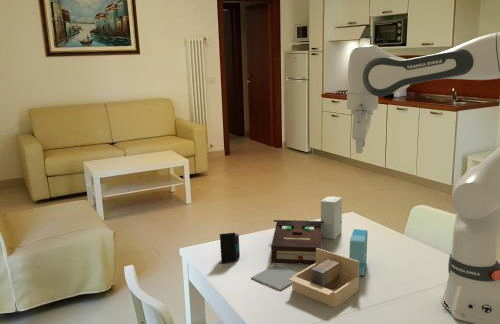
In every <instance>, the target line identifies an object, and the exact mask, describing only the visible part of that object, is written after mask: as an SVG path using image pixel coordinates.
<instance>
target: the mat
mask: <svg viewBox="0 0 500 324" xmlns="http://www.w3.org/2000/svg"><path fill="white" fill-rule="evenodd" d="M297 273H298V272H296V271H294V270H291V269H289V268H286V267H283V266H281V265H278V264H274V265H272V266H270V267H268V268H265V269H264V270H262V271H261V272H258V273H257V274H255V275H252V276H251V278H250V279H251V280H253V281H256V282H258V283H260V284H263V285H265V286H267V287H270V288H272V289H275V290H277V291H280V292H281V291H283V290H285V289H286V288H288V287H290V286H291V285H292V281H290V280H289V279H290V278H291V277H292V276H294V275H296V274H297Z"/></svg>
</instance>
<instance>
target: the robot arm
mask: <svg viewBox="0 0 500 324" xmlns="http://www.w3.org/2000/svg"><path fill="white" fill-rule="evenodd" d="M447 79H448V80H449V79H452V80H470V81H471V80H472V81H473V80H474V81H487V80H498V79H500V31H498V32H492V33H489V34H485V35H482V36H479V37H475V38H473V39H470V40H468V41H466V42H462V43H461V44H459V45H457V46H454V47H452V48H450V49H446V50H443V51H440V52H438V53H433V54H432V53H431V54H428V55H423V56H419V57H413V58H408V59H407V58H405V57H404V58H403V57H401V56H397V55H394V54H392V53H389V52H387V51H385V50H383V49H382V48H381V47H379V45H376V44H369V45H362V46H358V47H356V48H353V50H351V52H350V55H349V59H348V68H347V80H348V81H347V82H348V88H347V91H346V92H347V93H346V94H347V95H346V109H347V110H350V115H351V116H353V117H352V128H351V130H352V132H351V138H352V140H353V141H355V152H356V154H362V153H363V152H364V151H363V149H364V147H365V144H366V138H367V135H368V132H369V130H370V126H371V119H372V116H373V115H374V111H375V110H379V97H382V98H383V97H387V96H390V95H392V94H394V93H400V92H402V91H404V90H406V89H408V88H409V87H410V86H411V85H415V84H420V83H424V82H431V81H437V80H447ZM451 201H452V205H453V208H454V209H455V210H456V216H455V220H454V225H453V230H452V231H453V232H452V244H451V253H450V254H449V258H448V266H447V267H448V278H447V283H446V286H445V288H444V289H445V290H444V292H443V294H442V296H441V298H440V299H441V303H442V305H443V306H444V307H445V309H447V310H448V311H449V312H450V313H451V315H452V317H453V318H454V319H456V320H459V321H461V322H463V321H464V322H466V323H471V324H500V262H499V261H498V260H497V257H498V247H499V239H500V146H499V147H498V148H496V149H495V150H494V151H493V152H492V153H490V155H488V156H487V157H486V158H484V159H483V160H482V161H481V162H479V163H478V164H477V165H474V166H472V167H470V168H468V170H466V171H465V172H464V174H463V175H462V176H461V177H460V178H459V179H458V180H457V182H455V184H454V185H453V187H452V192H451ZM444 301H445V303H446V304H447V305H448V307H449V308H448V307H446V305H445V304H444Z"/></svg>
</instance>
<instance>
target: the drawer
mask: <svg viewBox="0 0 500 324" xmlns="http://www.w3.org/2000/svg"><path fill="white" fill-rule="evenodd" d="M328 259H330V260H333V261H336V262H339V263H340V269H339V286H340V287H338V288H337V289H335V290H334V291H332V290H329V289H327V288H324V287H322V286H319V285H316V284H314V283H311V269H312V268H314V267H315V266H317V265H319V264H321V263H322V262H324V261H326V260H328ZM289 280H290V281H292V284H291V285H292V286H291V287H292V288H291V289H292V290H291V291H294V292H296V293H298V294H300V295H303V296H305V297H309V298H310V299H313V300H316V301H318V302H320V303H322V304H325V305H328V306H330V307H332V308H337V307H338V306H340V305H341V304H342V303H344V302H345V301H346V300H348V299H349V298H350V297H352V296H354V295H355V294H356V293H357V292H359V287H360V286H359V283H360V276H359V261H357V260H354V259H350V258H349V257H347V256H344V255H341V254H338V253H334V252H331V251H328V250H325V249H323V248H322V249H319V248H316V263H315V264H313V265H310V266H307V267H306V268H304V269H303V270H301V271H299V272H297V274H296V275H294V276H292V277H291V278H290V279H289Z"/></svg>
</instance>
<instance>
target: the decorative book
mask: <svg viewBox="0 0 500 324" xmlns="http://www.w3.org/2000/svg"><path fill="white" fill-rule="evenodd" d="M272 222H274V223H275V222H276V224H275V227H274V228H275V229H274V233H273V237H272V242H271V244H270V247H271V248H270V249H271V251H270V253H271V254H270V257H271V259H270V261H271V264H286V265H307V266H308V265H310V266H311V265H313V264H315V263H316V248H319V249H322V250H323V246H322V237H321V223H324V221H321V220H295V219H294V220H292V219H291V220H289V219H287V220H286V219H274V220H273V221H272Z"/></svg>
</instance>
